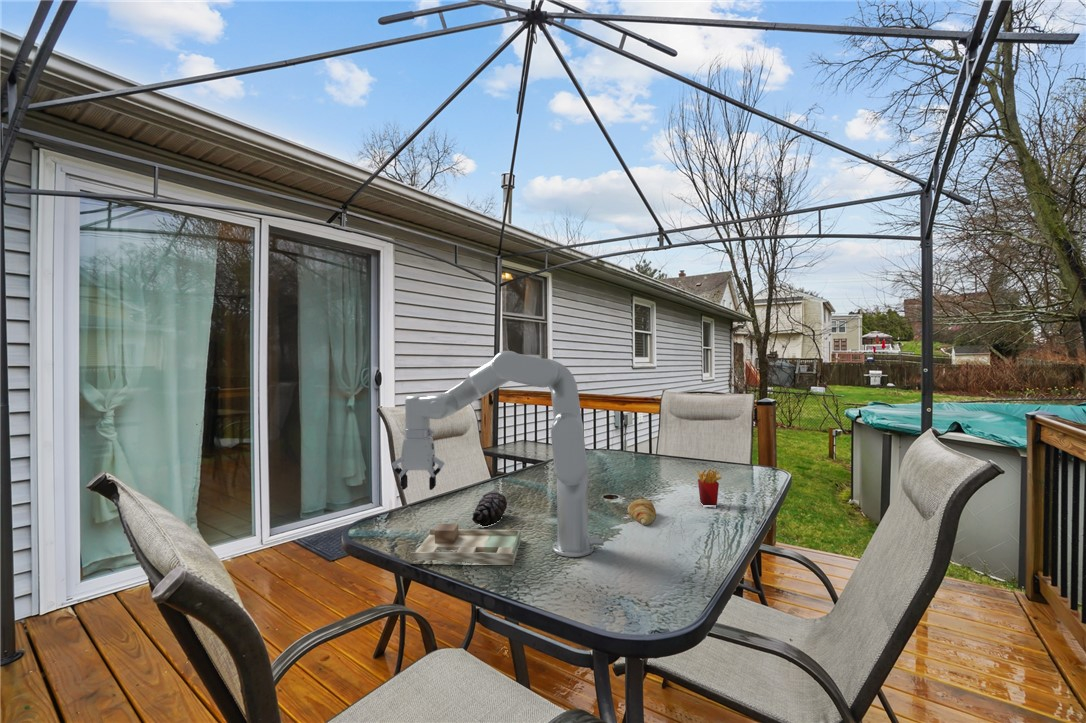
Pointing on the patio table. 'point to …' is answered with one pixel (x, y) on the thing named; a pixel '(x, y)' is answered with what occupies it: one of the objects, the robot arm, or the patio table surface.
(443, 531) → the walnut block
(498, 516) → the pine cone
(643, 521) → the croissant
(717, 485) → the french fries
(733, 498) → the patio table surface
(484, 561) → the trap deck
